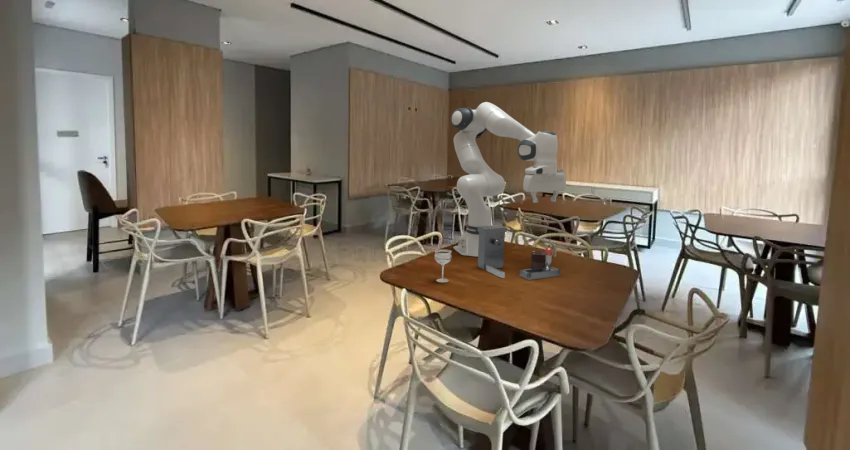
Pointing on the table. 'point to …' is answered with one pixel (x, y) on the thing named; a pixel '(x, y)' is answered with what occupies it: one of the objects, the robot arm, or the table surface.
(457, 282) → the table surface
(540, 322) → the table surface
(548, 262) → the lever
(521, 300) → the table surface
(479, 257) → the grey coffee machine
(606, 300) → the table surface
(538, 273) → the lever rail
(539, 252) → the box
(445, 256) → the wineglass
